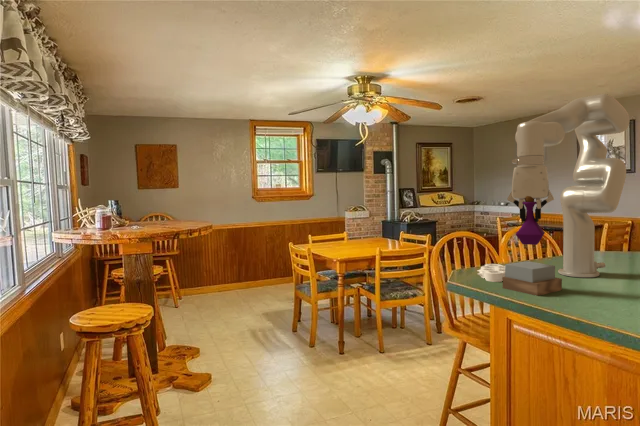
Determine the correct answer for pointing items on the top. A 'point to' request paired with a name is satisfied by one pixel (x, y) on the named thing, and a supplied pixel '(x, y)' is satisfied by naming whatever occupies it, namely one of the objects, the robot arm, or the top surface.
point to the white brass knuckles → (492, 272)
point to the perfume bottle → (530, 225)
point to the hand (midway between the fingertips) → (530, 220)
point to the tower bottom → (533, 286)
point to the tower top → (530, 271)
